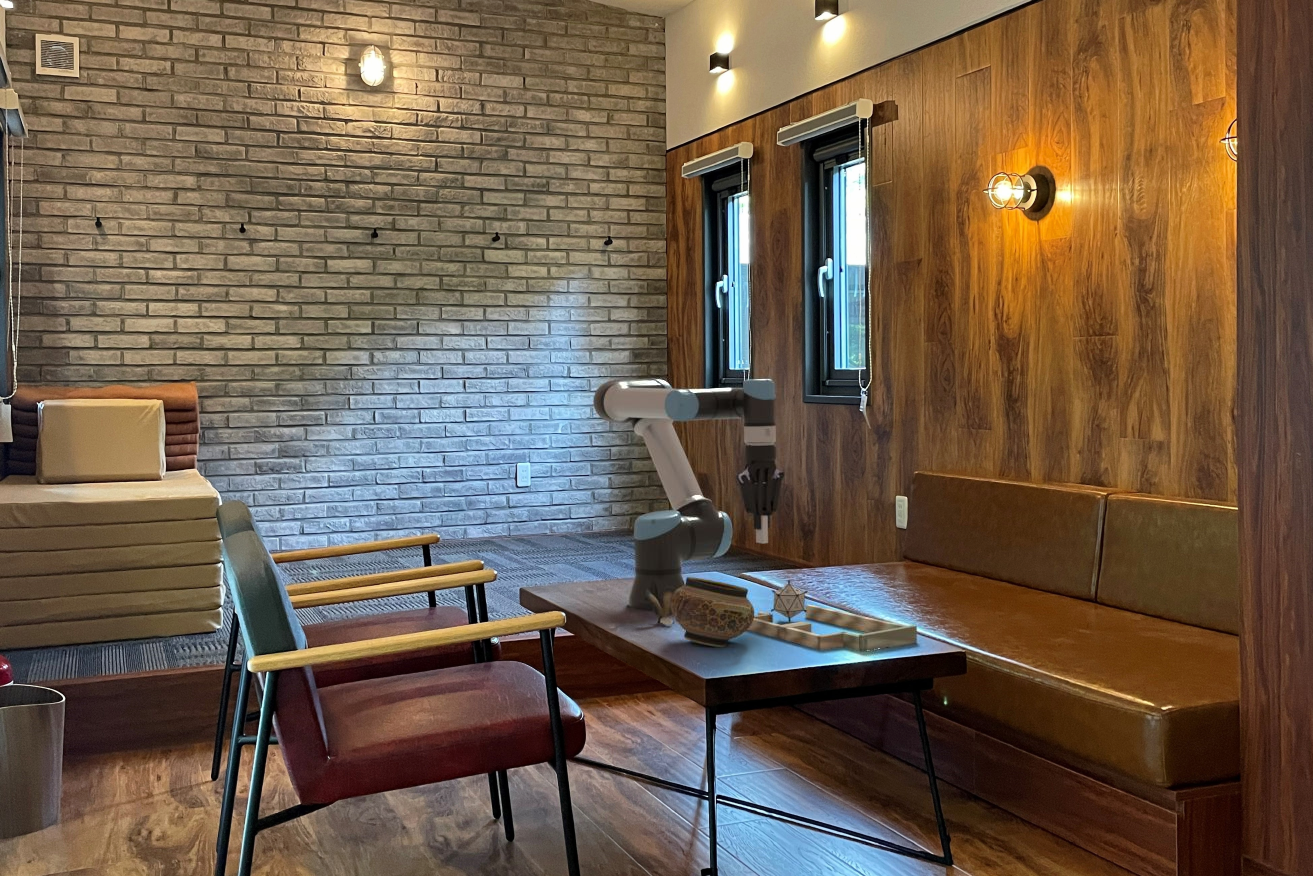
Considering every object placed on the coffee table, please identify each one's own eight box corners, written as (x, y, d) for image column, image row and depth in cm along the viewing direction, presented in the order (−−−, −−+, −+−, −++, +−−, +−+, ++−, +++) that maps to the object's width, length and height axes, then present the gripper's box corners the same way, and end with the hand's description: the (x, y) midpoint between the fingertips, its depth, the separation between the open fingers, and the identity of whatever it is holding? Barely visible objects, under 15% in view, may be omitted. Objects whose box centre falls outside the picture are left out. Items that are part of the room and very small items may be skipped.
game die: (806, 626, 278) (805, 583, 277) (769, 625, 280) (768, 582, 279) (809, 619, 287) (808, 576, 286) (773, 618, 288) (772, 576, 288)
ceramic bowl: (651, 640, 267) (650, 572, 267) (723, 631, 275) (722, 565, 274) (700, 663, 245) (699, 589, 244) (777, 653, 252) (776, 581, 251)
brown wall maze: (737, 628, 277) (736, 613, 277) (809, 616, 289) (809, 602, 289) (841, 656, 248) (840, 639, 248) (917, 642, 260) (916, 626, 259)
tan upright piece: (664, 622, 286) (663, 584, 286) (685, 626, 281) (685, 587, 281) (640, 627, 281) (639, 589, 280) (662, 631, 276) (661, 592, 275)
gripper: (747, 445, 283) (749, 546, 284) (791, 443, 290) (793, 541, 291) (728, 444, 289) (730, 543, 290) (771, 442, 296) (773, 538, 297)
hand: (762, 542), depth 291 cm, fingers closed
